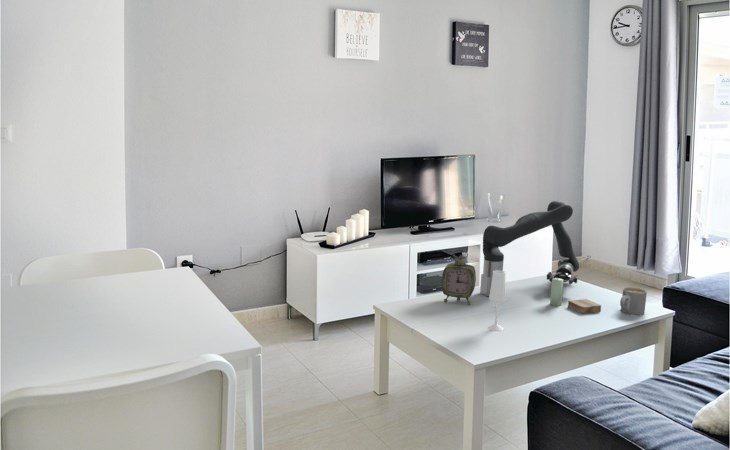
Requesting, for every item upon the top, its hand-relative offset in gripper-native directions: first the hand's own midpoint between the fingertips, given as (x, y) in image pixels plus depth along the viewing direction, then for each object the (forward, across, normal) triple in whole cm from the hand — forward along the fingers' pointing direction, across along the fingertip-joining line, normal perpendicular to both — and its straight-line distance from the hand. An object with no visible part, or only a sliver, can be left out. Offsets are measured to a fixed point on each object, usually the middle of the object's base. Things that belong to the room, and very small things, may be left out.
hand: (560, 281), depth 316 cm
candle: (+11, 0, +8) cm, 14 cm away
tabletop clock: (+29, -42, +8) cm, 52 cm away
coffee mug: (+6, +32, +9) cm, 33 cm away
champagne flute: (+57, -19, +8) cm, 60 cm away
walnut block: (+13, +12, +8) cm, 20 cm away
